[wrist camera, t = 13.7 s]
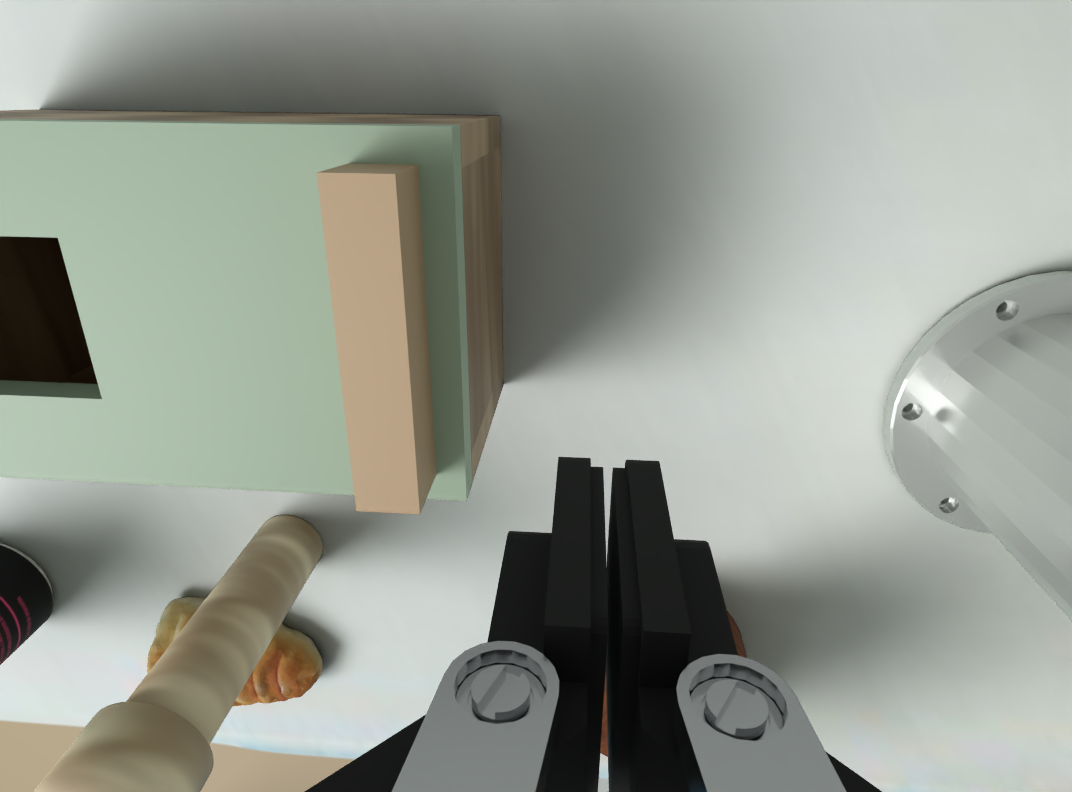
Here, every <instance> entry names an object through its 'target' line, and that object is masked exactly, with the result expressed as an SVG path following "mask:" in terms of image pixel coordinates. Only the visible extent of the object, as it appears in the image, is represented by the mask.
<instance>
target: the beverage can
mask: <svg viewBox="0 0 1072 792" xmlns="http://www.w3.org/2000/svg"><path fill="white" fill-rule="evenodd" d="M53 605H54V599H53V593H52V588H51V584H50V582H49V580H48V578H47V576H46V574H45V573H44V571H43V570H42V569H41V568H40V566H39V565H38V564H37V563H36V562H35V561H33V560H32V559H31V558H30V557H28V556H27V555H26V554H24V553H22V552H21V551H19V550H17V549H15V548H13V547H10V546H8V545H5V544H1V543H0V665H1V664H2V663H3V662H4V661H5V660H6V659H7V658H8V657H9V656H10V655H11V654H12V653H13V652H14V651H15V650H16V649H17V648H18V647H19V646H20V645H21V644H23V643H24V642H25V641H26V640H27V639H28V638H29V637H30V636H31V635H32V634H33V633H34V632H35V631H36V630H37V629H38V628H39V627H40V626H41V625H42V624H43V623H44V622H45V621H46V620H47V619H48V618H49V617H50V615H51V613H52V610H53Z"/></svg>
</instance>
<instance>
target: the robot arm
mask: <svg viewBox="0 0 1072 792" xmlns="http://www.w3.org/2000/svg"><path fill="white" fill-rule="evenodd" d="M1000 304H1001V305H1000ZM999 305H1000V307H999V308H998V306H999ZM997 308H998V309H997ZM907 404H908V405H907ZM906 405H907V406H906ZM905 406H906V407H905ZM883 436H884V443H885V449H886V454H887V456H888V459H889V461H890V464H891V466H892V468H893V471H894V473H895V474H896V476H897V477H898V479H899V480H900V481H901V483H902V484H903V486H904V487H905V488H906V490H907V491H908V492H909V493H910V494H911V495H912V496H913V497H914V498H915V500H916V501H917V502H918V503H919V504H920V505H921V506H922V507H924V508H925V509H926V510H928V511H929V512H930V513H932V514H933V515H935V516H936V517H938V518H940V519H942V520H944V521H947V522H949V523H952V524H954V525H956V526H959V527H961V528H965V529H969V530H974V531H979V532H983V533H992V534H994V536H995V537H996V538H997V539H998V540H999V541H1000V542H1001V543H1002V544H1003V546H1004V547H1005V548H1006V549H1007V550H1008V551H1009V552H1010V553H1011V554H1012V556H1013V557H1014V558H1015V559H1016V560H1017V561H1018V562H1019V563H1020V564H1021V566H1022V567H1023V568H1024V569H1025V570H1026V571H1027V572H1028V573H1029V575H1030V576H1031V577H1032V578H1033V579H1034V580H1035V581H1036V582H1037V583H1038V585H1039V586H1040V587H1041V588H1042V589H1043V590H1044V591H1045V592H1046V593H1047V595H1048V596H1049V597H1050V598H1051V599H1052V600H1053V601H1054V602H1055V603H1056V605H1057V606H1058V607H1059V608H1060V609H1061V610H1062V611H1063V612H1064V613H1065V615H1066V616H1067V617H1068V618H1069V619H1070V620H1071V621H1072V271H1057V272H1050V273H1043V274H1036V275H1029V276H1026V277H1023V278H1019V279H1016V280H1013V281H1010V282H1007V283H1004V284H1000V285H997V286H995V287H993V288H991V289H989V290H987V291H985V292H983V293H981V294H979V295H977V296H975V297H973V298H971V299H969V300H968V301H966V302H965V303H963V304H962V305H960V306H959V307H957V308H956V309H954V310H953V311H952V312H950V313H949V314H947V315H946V316H944V317H943V318H942V319H941V320H940V321H939V322H938V323H937V324H936V325H935V326H933V327H932V328H931V329H930V330H929V331H928V332H927V333H926V334H925V335H924V336H923V337H922V338H921V339H920V340H919V342H918V343H917V344H916V346H915V347H914V348H913V350H912V351H911V352H910V353H909V355H908V356H907V357H906V359H905V360H904V361H903V363H902V365H901V367H900V369H899V371H898V373H897V375H896V377H895V379H894V381H893V383H892V385H891V388H890V392H889V395H888V398H887V402H886V405H885V409H884V422H883ZM605 674H606V697H607V735H608V772H609V792H882V791H880V790H879V789H877V788H876V787H875V786H873V785H872V784H870V783H869V782H868V781H866V780H865V779H863V778H862V777H861V776H859V775H858V774H856V773H855V772H854V771H852V770H851V769H849V768H848V767H847V766H845V765H844V764H842V763H841V762H839V761H838V760H837V759H835V758H834V757H832V756H831V755H830V754H828V753H827V752H825V750H824V748H823V746H822V744H821V742H820V740H819V738H818V736H817V735H816V733H815V731H814V729H813V727H812V725H811V723H810V721H809V719H808V717H807V715H806V714H805V712H804V710H803V708H802V706H801V704H800V702H799V700H798V698H797V696H796V695H795V694H794V692H793V691H792V689H791V688H790V687H789V685H788V684H787V682H786V681H785V680H783V679H782V678H781V677H780V676H779V675H777V674H776V673H775V672H774V671H773V670H772V669H770V668H768V667H766V666H764V665H762V664H760V663H758V662H756V661H755V660H751V659H748V658H744V657H741V656H738V653H737V649H736V645H735V641H734V637H733V633H732V630H731V626H730V622H729V618H728V614H727V611H726V607H725V603H724V599H723V595H722V591H721V588H720V584H719V580H718V576H717V572H716V568H715V565H714V561H713V557H712V553H711V549H710V547H709V544H708V542H706V541H696V540H676V539H674V538H673V533H672V527H671V522H670V516H669V511H668V506H667V500H666V495H665V489H664V484H663V479H662V473H661V468H660V463H659V461H642V460H626V462H625V468H613V473H612V488H611V504H610V520H609V536H608V552H607V568H606V541H605V511H604V481H603V467H591V459H590V458H572V457H559V458H558V469H557V481H556V492H555V504H554V515H553V527H552V533H537V532H517V531H509V533H508V536H507V541H506V546H505V551H504V557H503V562H502V567H501V573H500V578H499V583H498V589H497V594H496V600H495V605H494V610H493V616H492V621H491V626H490V632H489V637H488V643H483V644H480V645H477V646H475V647H473V648H470V649H468V650H466V651H465V652H463V653H462V654H461V655H460V656H458V657H457V658H456V659H455V660H453V662H452V663H451V665H450V666H449V668H448V669H447V671H446V672H445V674H444V676H443V678H442V680H441V682H440V685H439V687H438V689H437V691H436V694H435V696H434V698H433V700H432V703H431V705H430V707H429V709H428V712H427V714H426V715H425V716H423V717H421V718H420V719H418V720H417V721H415V722H414V723H412V724H410V725H409V726H407V727H406V728H404V729H403V730H401V731H399V732H398V733H396V734H395V735H393V736H392V737H390V738H388V739H387V740H385V741H384V742H382V743H381V744H379V745H377V746H376V747H374V748H373V749H371V750H370V751H368V752H366V753H365V754H363V755H362V756H360V757H358V758H357V759H355V760H354V761H352V762H351V763H349V764H347V765H346V766H344V767H343V768H341V769H340V770H338V771H336V772H335V773H334V774H332V775H330V776H329V777H327V778H326V779H324V780H322V781H321V782H319V783H318V784H316V785H314V786H313V787H311V788H310V789H308V790H307V791H305V792H598V778H599V763H600V748H601V733H602V718H603V704H604V689H605Z"/></svg>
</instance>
